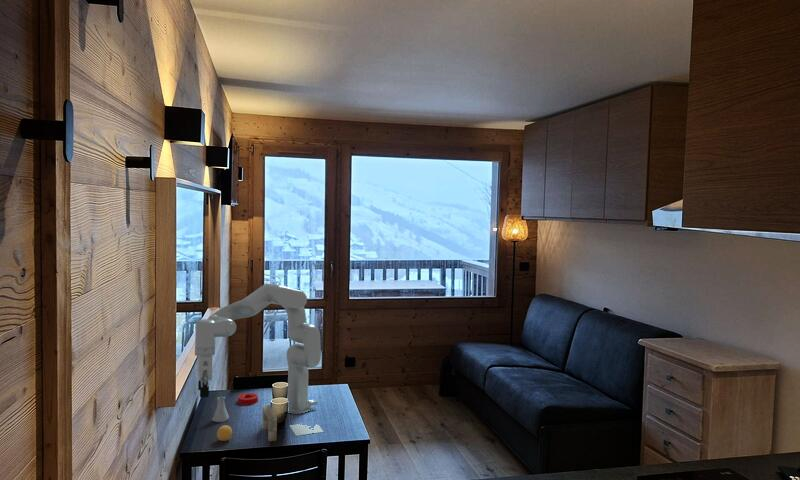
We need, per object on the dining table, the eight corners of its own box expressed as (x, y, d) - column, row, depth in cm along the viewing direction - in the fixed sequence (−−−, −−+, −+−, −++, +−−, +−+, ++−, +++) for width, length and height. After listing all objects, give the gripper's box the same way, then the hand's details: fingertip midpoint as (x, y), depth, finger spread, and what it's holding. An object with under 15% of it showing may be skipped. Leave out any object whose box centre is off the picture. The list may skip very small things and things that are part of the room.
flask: (223, 423, 230) (224, 401, 229) (208, 421, 231) (209, 399, 231) (232, 417, 237) (232, 396, 236) (217, 416, 238) (218, 394, 238)
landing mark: (315, 422, 234) (315, 421, 234) (323, 432, 223) (323, 431, 223) (289, 425, 229) (289, 425, 229) (296, 436, 218) (296, 435, 218)
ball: (231, 436, 216) (231, 422, 215) (233, 442, 210) (233, 427, 210) (216, 438, 213) (216, 424, 213) (217, 444, 208) (217, 429, 208)
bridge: (269, 427, 227) (269, 405, 226) (276, 440, 213) (276, 417, 213) (262, 428, 225) (262, 406, 225) (269, 441, 212) (269, 418, 212)
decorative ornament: (259, 404, 256) (259, 397, 256) (239, 406, 252) (239, 400, 252) (255, 398, 265) (255, 391, 265) (236, 400, 260) (236, 394, 260)
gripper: (216, 355, 202) (215, 399, 202) (212, 345, 217) (211, 386, 217) (196, 356, 198) (194, 400, 199) (193, 346, 214) (192, 387, 214)
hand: (203, 393), depth 208 cm, fingers open, 9 cm apart
